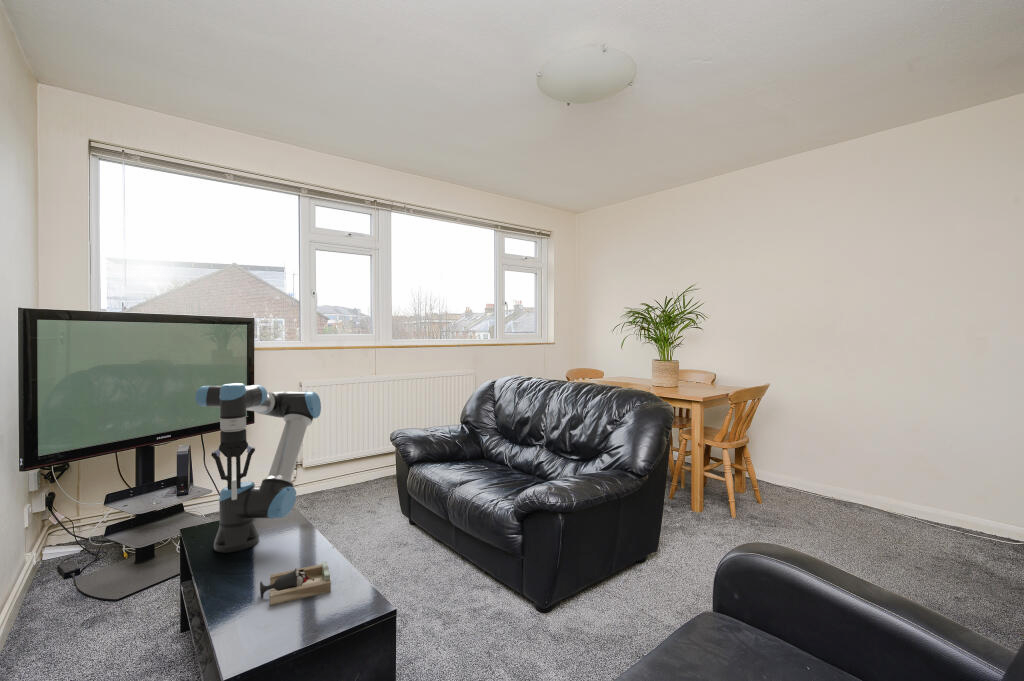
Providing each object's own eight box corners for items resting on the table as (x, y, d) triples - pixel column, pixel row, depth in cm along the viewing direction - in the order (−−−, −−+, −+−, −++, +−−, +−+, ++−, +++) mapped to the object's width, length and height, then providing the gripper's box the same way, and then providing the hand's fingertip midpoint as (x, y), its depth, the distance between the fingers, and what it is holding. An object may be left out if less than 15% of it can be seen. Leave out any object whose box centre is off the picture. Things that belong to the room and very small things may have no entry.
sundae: (260, 603, 137) (314, 586, 143) (258, 579, 139) (312, 563, 145) (263, 600, 142) (315, 584, 148) (261, 577, 144) (312, 562, 150)
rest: (270, 584, 148) (270, 570, 148) (326, 571, 156) (326, 559, 156) (270, 606, 136) (270, 591, 136) (330, 591, 144) (330, 577, 144)
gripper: (209, 433, 147) (210, 505, 148) (255, 429, 154) (256, 498, 154) (211, 429, 154) (212, 498, 155) (255, 425, 160) (256, 491, 161)
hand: (234, 498), depth 154 cm, fingers closed
